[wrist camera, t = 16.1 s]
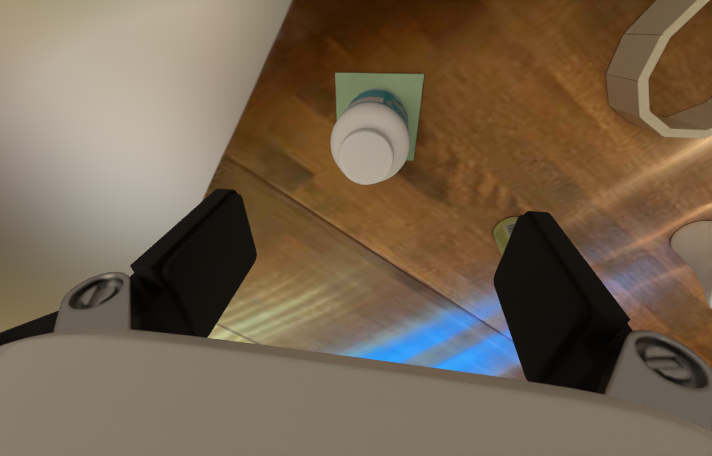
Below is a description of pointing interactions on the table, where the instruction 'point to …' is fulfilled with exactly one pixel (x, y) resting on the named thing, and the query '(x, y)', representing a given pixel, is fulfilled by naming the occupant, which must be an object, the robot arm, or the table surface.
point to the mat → (400, 84)
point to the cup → (696, 252)
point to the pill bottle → (371, 137)
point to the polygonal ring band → (638, 62)
